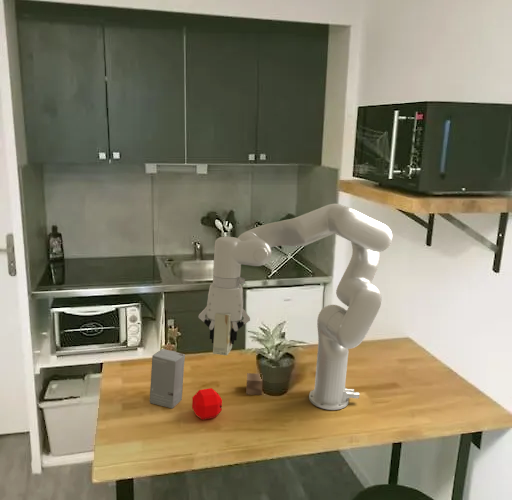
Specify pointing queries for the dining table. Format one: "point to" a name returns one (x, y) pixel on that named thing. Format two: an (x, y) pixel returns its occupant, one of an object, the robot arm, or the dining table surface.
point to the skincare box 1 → (167, 378)
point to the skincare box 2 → (222, 334)
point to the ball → (206, 403)
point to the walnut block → (254, 384)
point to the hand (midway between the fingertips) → (223, 341)
